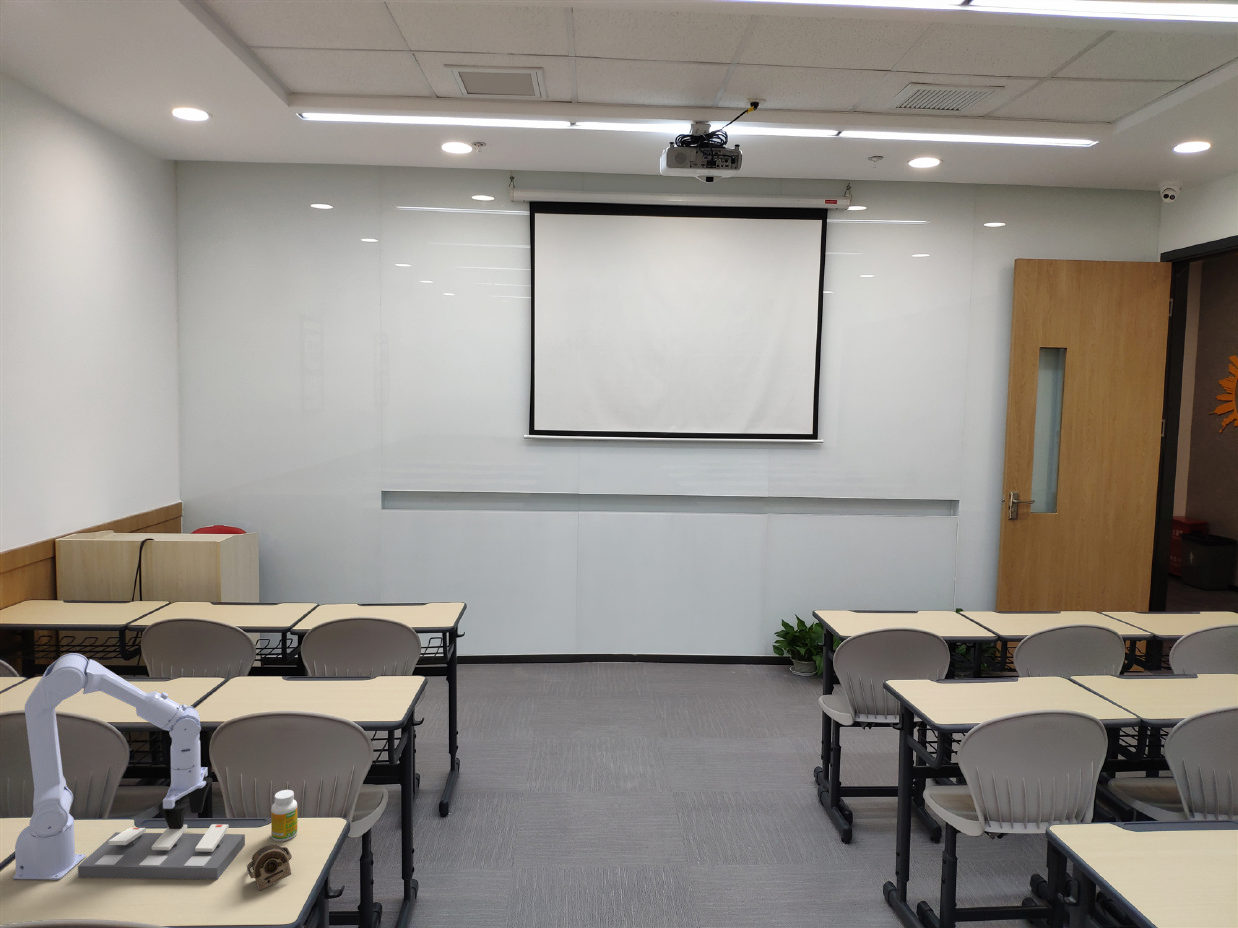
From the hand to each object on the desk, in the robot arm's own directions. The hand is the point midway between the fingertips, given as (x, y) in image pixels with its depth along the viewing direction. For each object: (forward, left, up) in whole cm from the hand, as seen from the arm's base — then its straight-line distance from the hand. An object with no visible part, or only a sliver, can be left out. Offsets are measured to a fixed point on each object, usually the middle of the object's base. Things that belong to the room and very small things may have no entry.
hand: (186, 822), depth 168 cm
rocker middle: (0, -7, 0) cm, 7 cm away
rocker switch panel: (0, -9, -3) cm, 9 cm away
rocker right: (+9, -7, 0) cm, 11 cm away
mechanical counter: (+24, -12, -4) cm, 27 cm away
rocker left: (-9, -7, 0) cm, 11 cm away
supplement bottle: (+21, +1, -4) cm, 21 cm away
